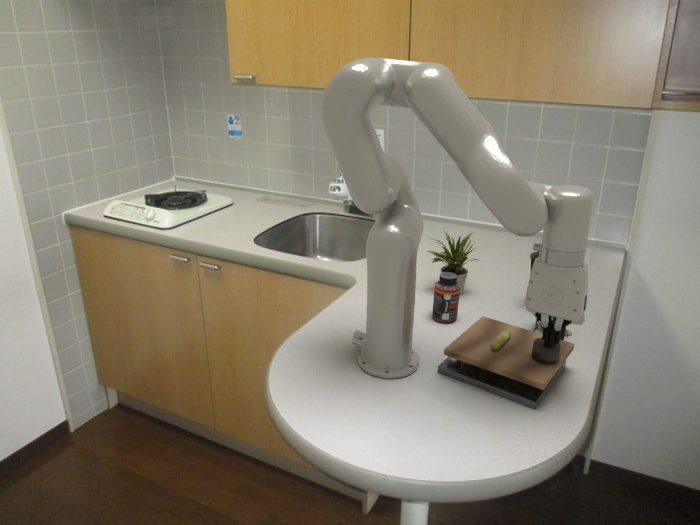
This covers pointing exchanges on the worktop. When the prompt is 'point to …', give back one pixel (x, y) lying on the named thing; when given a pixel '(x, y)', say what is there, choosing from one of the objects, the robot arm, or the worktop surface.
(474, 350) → the levelling plate
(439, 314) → the supplement bottle
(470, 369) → the dark board base
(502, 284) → the worktop surface
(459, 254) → the house plant
